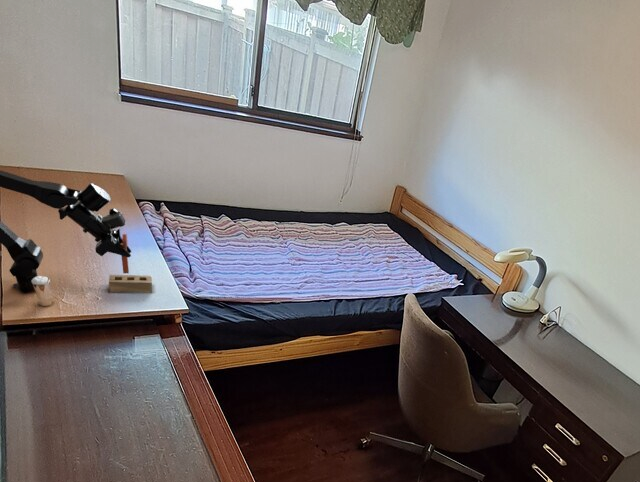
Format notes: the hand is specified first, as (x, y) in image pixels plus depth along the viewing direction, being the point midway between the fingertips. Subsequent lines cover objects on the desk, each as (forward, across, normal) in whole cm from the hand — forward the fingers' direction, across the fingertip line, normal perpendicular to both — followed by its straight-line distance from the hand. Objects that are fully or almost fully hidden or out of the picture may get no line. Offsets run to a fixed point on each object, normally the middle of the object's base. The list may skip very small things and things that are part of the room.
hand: (130, 254), depth 153 cm
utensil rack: (+9, +1, +10) cm, 14 cm away
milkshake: (-7, -10, +27) cm, 29 cm away
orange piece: (+4, 0, +6) cm, 7 cm away
